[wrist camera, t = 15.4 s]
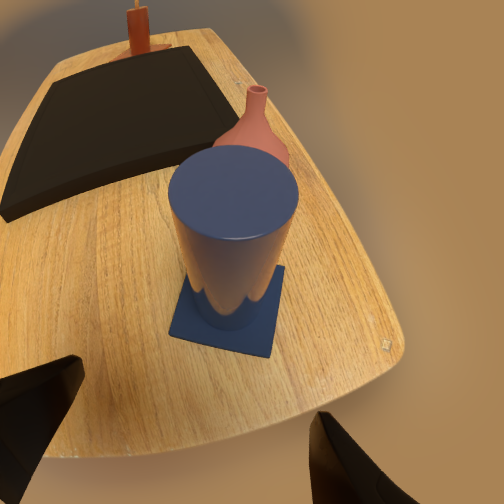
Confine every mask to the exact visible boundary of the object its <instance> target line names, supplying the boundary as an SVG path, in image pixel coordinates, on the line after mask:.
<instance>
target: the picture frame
mask: <svg viewBox="0 0 504 504" xmlns="http://www.w3.org/2000/svg"><path fill="white" fill-rule="evenodd" d="M239 120H240V119H239V117H238V116H237V114H236V113H235V111H234V110H233V108H232V107H231V105H230V104H229V102H228V101H227V99H226V98H225V96H224V95H223V93H222V92H221V90H220V89H219V87H218V86H217V84H216V83H215V81H214V80H213V79H212V77H211V76H210V74H209V73H208V71H207V70H206V69H205V67H204V66H203V64H202V63H201V62H200V60H199V59H198V57H197V56H196V55H195V53H194V52H193V51H192V49H191V48H190V46H182V47H175V48H169V49H164V50H158V51H153V52H148V53H144V54H139V55H135V56H131V57H127V58H123V59H120V60H116V61H112V62H109V63H106V64H102V65H99V66H96V67H93V68H90V69H87V70H84V71H82V72H79V73H76V74H74V75H71V76H68V77H66V78H63V79H61V80H59V81H56V82H54V83H52V85H51V87H50V88H49V90H48V92H47V94H46V95H45V97H44V99H43V101H42V102H41V104H40V106H39V108H38V110H37V112H36V114H35V116H34V118H33V120H32V122H31V124H30V126H29V128H28V130H27V132H26V134H25V137H24V139H23V141H22V143H21V146H20V148H19V151H18V153H17V156H16V158H15V161H14V163H13V166H12V169H11V172H10V174H9V177H8V180H7V183H6V187H5V190H4V193H3V196H2V200H1V203H0V215H1V216H2V218H3V219H4V220H5V221H6V223H9V222H11V221H13V220H15V219H17V218H20V217H22V216H24V215H26V214H29V213H31V212H33V211H36V210H38V209H41V208H43V207H45V206H48V205H50V204H53V203H56V202H58V201H61V200H63V199H66V198H69V197H71V196H74V195H77V194H80V193H83V192H85V191H88V190H91V189H94V188H97V187H100V186H103V185H106V184H110V183H113V182H116V181H119V180H123V179H126V178H129V177H133V176H136V175H140V174H143V173H147V172H151V171H155V170H158V169H162V168H166V167H170V166H174V165H178V164H181V163H182V162H184V161H185V160H186V159H187V158H189V157H190V156H192V155H193V154H195V153H197V152H199V151H202V150H204V149H207V148H211V147H213V145H214V143H215V141H216V140H217V139H218V138H219V137H221V136H222V135H223V134H225V133H226V132H228V131H229V130H231V129H232V128H234V126H235V125H236V124H237V122H238V121H239Z"/></svg>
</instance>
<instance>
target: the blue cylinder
mask: <svg viewBox="0 0 504 504" xmlns="http://www.w3.org/2000/svg"><path fill="white" fill-rule="evenodd" d="M168 199H169V204H170V208H171V212H172V216H173V221H174V225H175V229H176V233H177V237H178V241H179V245H180V248H181V252H182V256H183V260H184V263H185V267H186V271H187V274H188V278H189V281H190V285H191V288H192V292H193V295H194V298H195V302H196V305H197V308H198V311H199V313H200V315H201V317H202V318H203V319H204V320H205V322H206V323H208V324H209V325H210V326H212V327H214V328H216V329H219V330H223V331H236V330H240V329H243V328H245V327H247V326H248V325H250V324H251V323H252V322H253V321H254V320H255V319H256V317H257V316H258V314H259V312H260V309H261V306H262V304H263V301H264V298H265V296H266V293H267V290H268V287H269V285H270V282H271V279H272V276H273V274H274V271H275V268H276V265H277V262H278V260H279V257H280V254H281V251H282V248H283V245H284V243H285V240H286V237H287V234H288V231H289V228H290V225H291V222H292V220H293V217H294V214H295V211H296V208H297V204H298V200H299V191H298V186H297V183H296V180H295V178H294V176H293V174H292V172H291V171H290V170H289V168H288V167H287V166H286V165H285V164H284V163H283V162H281V161H280V160H279V159H278V158H276V157H275V156H273V155H271V154H269V153H267V152H265V151H263V150H260V149H257V148H253V147H249V146H243V145H221V146H215V147H211V148H207V149H204V150H202V151H199V152H197V153H195V154H193V155H192V156H190V157H189V158H187V159H186V160H185V161H184V162H182V163H181V164H180V165H179V167H178V168H177V169H176V170H175V172H174V174H173V176H172V178H171V180H170V183H169V187H168Z"/></svg>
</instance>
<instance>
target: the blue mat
mask: <svg viewBox="0 0 504 504" xmlns="http://www.w3.org/2000/svg"><path fill="white" fill-rule="evenodd" d="M284 270H285V266H281V265H276V268H275V271H274V274H273V276H272V279H271V282H270V285H269V287H268V290H267V293H266V296H265V298H264V301H263V304H262V306H261V309H260V312H259V314H258V316H257V317H256V319H255V320H254V321H253V322H252V323H251V324H250V325H248V326H247V327H245V328H243V329H240V330H236V331H223V330H219V329H216V328H214V327H212V326H210V325H209V324H208V323H206V322H205V320H204V319H203V318H202V317H201V315H200V313H199V311H198V308H197V305H196V302H195V298H194V295H193V292H192V288H191V285H190V281H189V278H188V274H186V277H185V280H184V283H183V287H182V290H181V293H180V296H179V300H178V303H177V306H176V309H175V313H174V316H173V320H172V323H171V326H170V330H169V333H168V334H169V335H170V336H172V337H175V338H179V339H183V340H187V341H191V342H194V343H198V344H202V345H207V346H211V347H215V348H219V349H224V350H228V351H233V352H238V353H243V354H248V355H253V356H258V357H263V358H270V355H271V350H272V344H273V338H274V332H275V327H276V321H277V315H278V308H279V302H280V296H281V289H282V283H283V276H284Z"/></svg>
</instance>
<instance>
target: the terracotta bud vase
mask: <svg viewBox="0 0 504 504" xmlns="http://www.w3.org/2000/svg"><path fill="white" fill-rule="evenodd" d="M267 91H268V90H267V88H265V87H263V86H260V85H252V86H249V87H248V88H247V98H246V111H245V113H244V114H243V116H242V117H241V118H240V120H239V121H238V122H237V124H236V125H235V126H234V128H232V129H231V130H229V131H228V132H226V133H225V134H223V135H222V136H221V137H219V138H218V139H217V140H216V141H215V143H214V145H213V147H215V146H221V145H243V146H249V147H253V148H257V149H260V150H263V151H265V152H267V153H269V154H271V155H273V156H275V157H276V158H278V159H279V160H280V161H281V162H283V163H284V164H285V165H286V166H287V167H288V168H289V153H288V150H287V147H286V146H285V145H284V143H283V142H282V141H281V140H280V139H279V138H278V137H277V136H276V135H275V134H274V133H273V132H272V130H271V128H270V126H269V123H268V121H267V119H266V117H265V115H264V111H265V105H266V98H267Z"/></svg>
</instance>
